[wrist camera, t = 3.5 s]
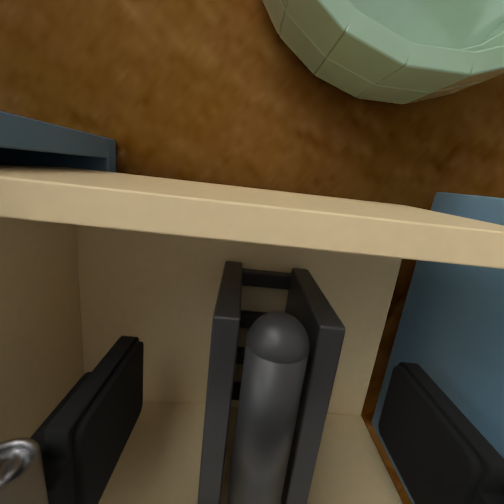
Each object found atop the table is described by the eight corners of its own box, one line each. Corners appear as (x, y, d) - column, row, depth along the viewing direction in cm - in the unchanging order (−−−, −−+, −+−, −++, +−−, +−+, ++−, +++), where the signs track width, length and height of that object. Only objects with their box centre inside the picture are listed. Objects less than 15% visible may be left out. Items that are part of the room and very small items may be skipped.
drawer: (556, 205, 12) (903, 241, 6) (467, 429, 16) (625, 613, 9) (68, 148, 11) (-174, 116, 5) (82, 401, 15) (-49, 587, 8)
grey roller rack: (226, 254, 12) (209, 325, 6) (308, 262, 12) (361, 339, 6) (212, 399, 13) (191, 551, 8) (283, 404, 14) (308, 556, 8)
